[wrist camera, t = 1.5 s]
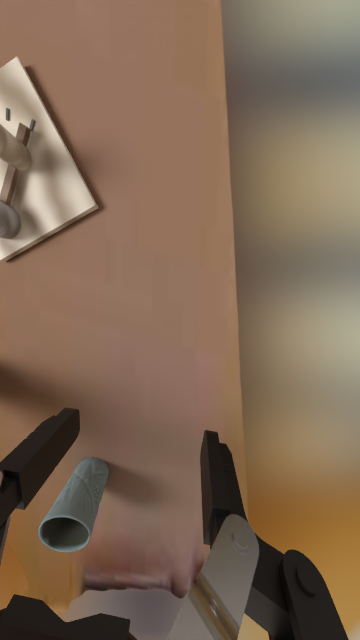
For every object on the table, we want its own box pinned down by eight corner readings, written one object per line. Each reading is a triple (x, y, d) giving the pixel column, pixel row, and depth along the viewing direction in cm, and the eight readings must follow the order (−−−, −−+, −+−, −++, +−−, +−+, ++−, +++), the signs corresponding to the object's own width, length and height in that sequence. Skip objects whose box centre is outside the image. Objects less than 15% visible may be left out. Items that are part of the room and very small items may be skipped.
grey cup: (67, 469, 45) (27, 534, 33) (91, 447, 43) (59, 508, 32) (96, 490, 46) (68, 560, 35) (120, 470, 45) (100, 536, 33)
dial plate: (5, 261, 34) (-2, 260, 32) (-79, 137, 29) (-92, 130, 28) (98, 207, 32) (95, 204, 30) (23, 66, 27) (15, 54, 26)
